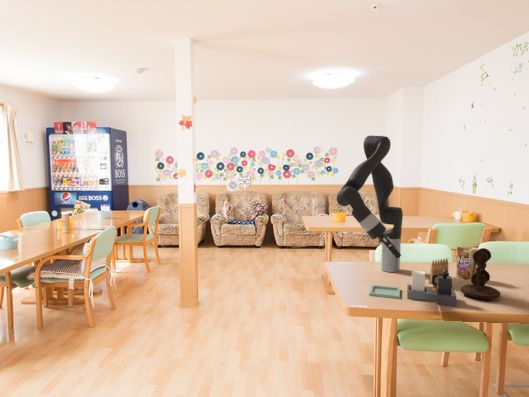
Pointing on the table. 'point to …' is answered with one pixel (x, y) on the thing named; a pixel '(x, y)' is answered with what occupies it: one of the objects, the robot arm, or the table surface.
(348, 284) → the table surface
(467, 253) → the candy box
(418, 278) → the plug
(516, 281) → the table surface
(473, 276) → the turned wooden stand
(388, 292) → the tray
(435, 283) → the ammunition clip
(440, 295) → the grey charging dock
